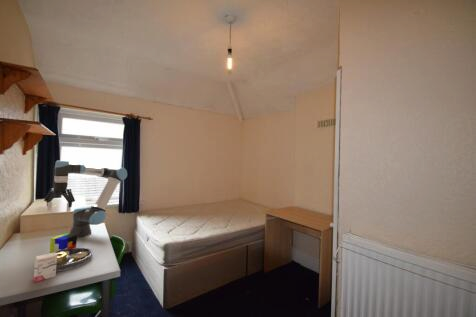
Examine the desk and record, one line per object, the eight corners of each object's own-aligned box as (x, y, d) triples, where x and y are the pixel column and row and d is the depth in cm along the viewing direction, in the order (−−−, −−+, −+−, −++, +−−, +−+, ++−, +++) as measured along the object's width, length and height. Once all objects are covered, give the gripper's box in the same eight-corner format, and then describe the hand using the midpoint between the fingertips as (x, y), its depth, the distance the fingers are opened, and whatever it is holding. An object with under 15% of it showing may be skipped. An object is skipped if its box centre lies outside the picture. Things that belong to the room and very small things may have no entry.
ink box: (33, 282, 106) (35, 259, 107) (32, 279, 109) (34, 256, 110) (56, 276, 113) (57, 254, 113) (54, 273, 116) (56, 251, 116)
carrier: (62, 252, 142) (63, 244, 142) (100, 253, 142) (101, 245, 142) (24, 271, 116) (25, 261, 116) (70, 273, 116) (71, 263, 116)
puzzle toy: (62, 254, 139) (63, 239, 139) (49, 253, 140) (50, 238, 140) (76, 248, 149) (76, 234, 149) (64, 247, 150) (65, 233, 150)
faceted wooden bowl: (56, 262, 126) (56, 252, 126) (69, 262, 126) (69, 252, 126) (44, 268, 118) (44, 258, 118) (58, 269, 118) (58, 258, 118)
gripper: (38, 181, 144) (36, 211, 144) (74, 183, 145) (72, 213, 144) (48, 180, 152) (46, 209, 151) (82, 182, 152) (80, 210, 152)
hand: (58, 211), depth 148 cm, fingers open, 13 cm apart
